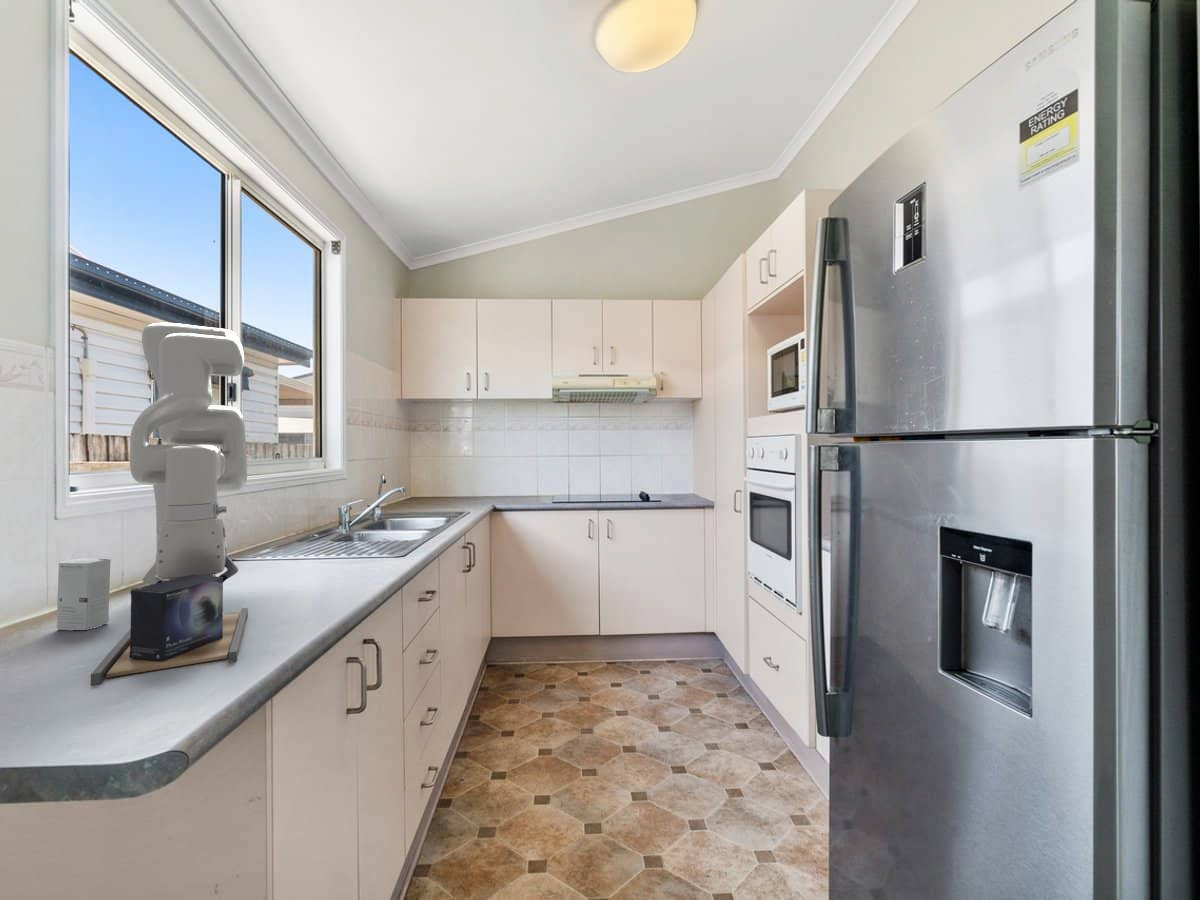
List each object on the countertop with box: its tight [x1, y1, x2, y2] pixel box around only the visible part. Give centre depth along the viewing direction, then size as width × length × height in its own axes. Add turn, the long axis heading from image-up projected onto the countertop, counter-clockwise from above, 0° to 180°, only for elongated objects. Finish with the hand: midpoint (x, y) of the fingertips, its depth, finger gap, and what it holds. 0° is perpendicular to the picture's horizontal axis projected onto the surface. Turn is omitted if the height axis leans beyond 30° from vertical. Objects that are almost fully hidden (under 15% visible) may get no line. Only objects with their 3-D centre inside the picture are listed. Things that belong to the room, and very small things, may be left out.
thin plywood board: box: [106, 612, 240, 678], centre depth 90 cm, size 24×14×6 cm, turn 30°
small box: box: [129, 574, 224, 661], centre depth 86 cm, size 11×6×10 cm, turn 169°
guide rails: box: [90, 607, 249, 686], centre depth 90 cm, size 26×17×2 cm, turn 30°
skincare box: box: [56, 557, 111, 631], centre depth 98 cm, size 6×4×12 cm
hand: (192, 613), depth 99 cm, fingers closed on thin plywood board, 4 cm apart
